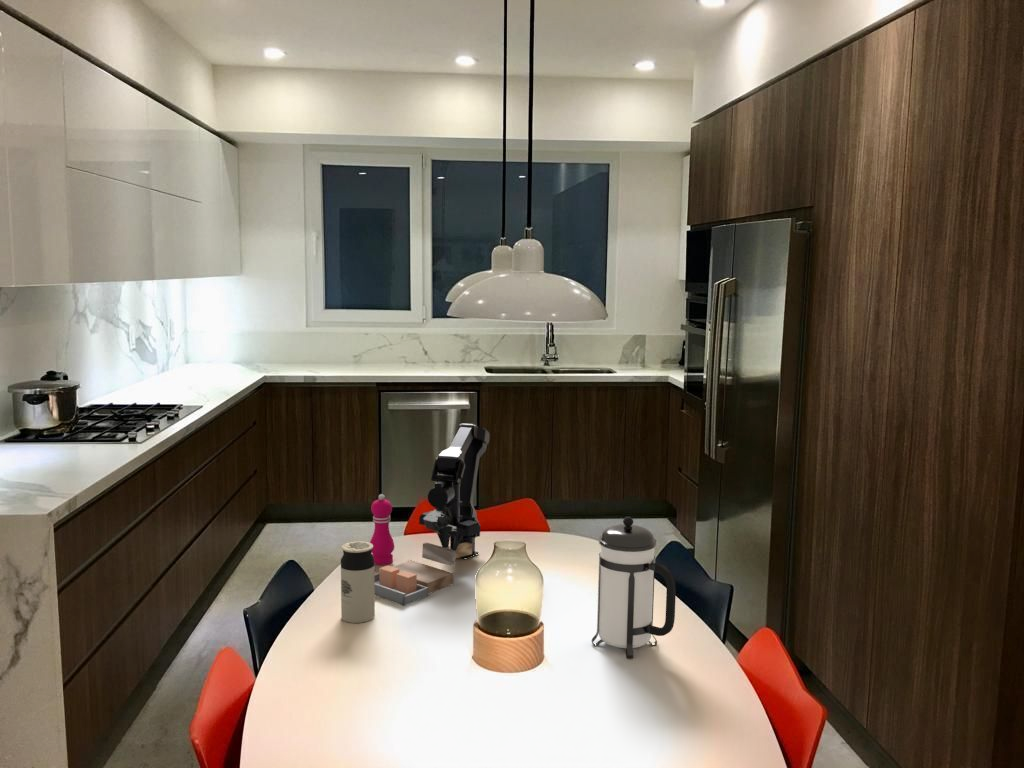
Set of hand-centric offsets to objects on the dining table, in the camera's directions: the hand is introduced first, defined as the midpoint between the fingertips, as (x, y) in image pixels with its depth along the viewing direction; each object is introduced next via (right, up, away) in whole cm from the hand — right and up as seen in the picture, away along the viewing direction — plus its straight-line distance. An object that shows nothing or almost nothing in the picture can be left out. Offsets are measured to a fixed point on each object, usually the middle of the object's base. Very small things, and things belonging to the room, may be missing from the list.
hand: (449, 552), depth 245 cm
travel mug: (-20, -10, -33) cm, 40 cm away
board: (-8, -6, -9) cm, 13 cm away
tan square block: (-14, -4, -12) cm, 19 cm away
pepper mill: (-20, -4, +8) cm, 22 cm away
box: (-14, -7, -16) cm, 23 cm away
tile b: (-9, -4, -16) cm, 19 cm away
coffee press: (+44, -12, -47) cm, 66 cm away
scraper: (+1, -2, +1) cm, 2 cm away
